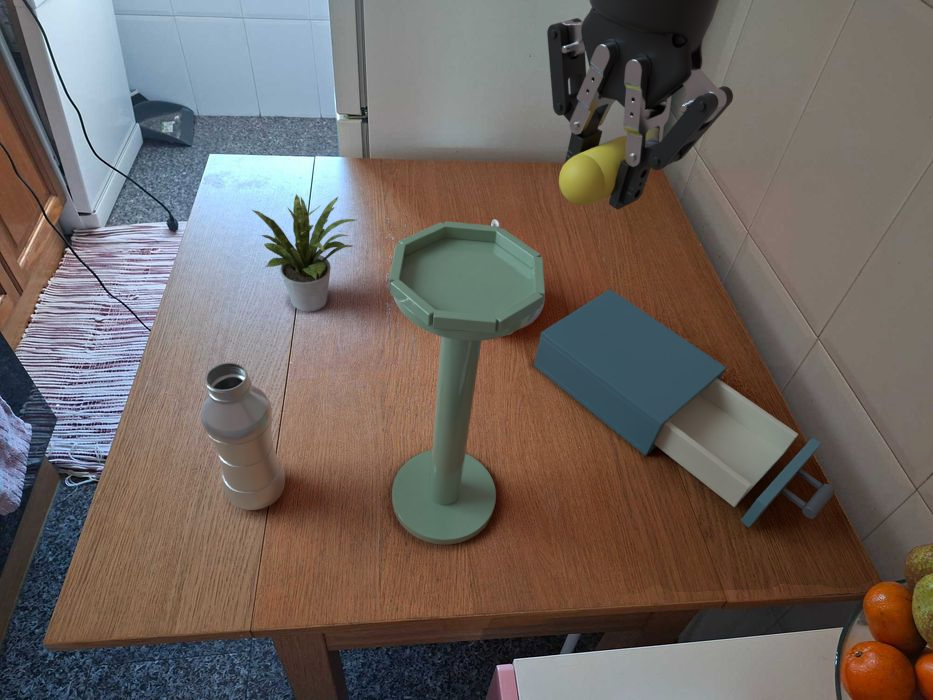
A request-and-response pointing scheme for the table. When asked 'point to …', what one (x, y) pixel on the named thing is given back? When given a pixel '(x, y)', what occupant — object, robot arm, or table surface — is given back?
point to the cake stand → (458, 361)
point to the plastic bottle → (242, 437)
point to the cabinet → (624, 367)
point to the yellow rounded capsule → (592, 172)
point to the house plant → (304, 255)
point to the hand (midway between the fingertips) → (599, 190)
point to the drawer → (738, 450)
